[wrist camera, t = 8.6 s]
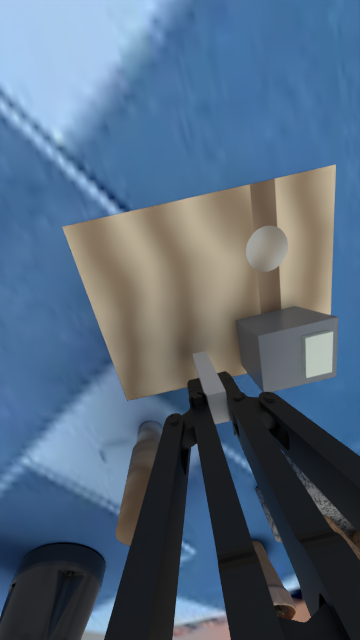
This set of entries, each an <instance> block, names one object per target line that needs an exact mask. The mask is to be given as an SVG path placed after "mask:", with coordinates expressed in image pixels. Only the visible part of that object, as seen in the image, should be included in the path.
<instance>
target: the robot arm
mask: <svg viewBox="0 0 360 640" xmlns="http://www.w3.org/2000/svg"><path fill="white" fill-rule="evenodd" d="M193 359H194V364H195V368H196V373H197V377H198V378H196V379H191V380H189V381H188V383H187V386H188V391H189V402H190V406H191V407H190V409H189V411H188V412H187V413H185V414H183V415H180V414H178V413H175V414H171V415H170V416H168V417H167V419H166V421H165V424H164V428H163V431H162V435H161V438H160V442H159V445H158V449H157V453H156V456H155V460H154V463H153V467H152V470H151V474H150V478H149V481H148V485H147V488H146V492H145V495H144V499H143V503H142V506H141V510H140V513H139V517H138V521H137V524H136V528H135V531H134V535H133V538H132V542H131V546H130V549H129V553H128V556H127V560H126V563H125V567H124V571H123V574H122V578H121V581H120V585H119V588H118V592H117V596H116V599H115V603H114V606H113V610H112V613H111V617H110V621H109V624H108V628H107V631H106V635H105V639H104V640H172V637H173V627H174V617H175V606H176V596H177V586H178V576H179V565H180V555H181V545H182V535H183V525H184V514H185V504H186V494H187V484H188V473H189V463H190V453H191V447H192V446H194V445H195V444H197V445H198V450H199V456H200V461H201V467H202V473H203V478H204V484H205V490H206V495H207V501H208V507H209V512H210V518H211V524H212V529H213V535H214V540H215V546H216V552H217V558H218V567H219V574H220V580H221V585H222V591H223V597H224V603H225V608H226V614H227V620H228V626H229V631H230V637H231V640H360V560H359V558H358V557H357V555H356V554H355V552H354V551H353V549H352V548H351V547H350V545H349V544H348V543H347V541H346V540H345V539H344V538H343V537H342V536H341V535H340V534H339V533H337V532H335V531H334V530H333V529H332V528H331V527H330V525H329V524H328V522H327V521H326V519H325V518H324V516H323V514H322V513H321V511H320V510H319V508H318V507H317V505H316V504H315V502H314V500H313V499H312V497H311V496H310V494H309V493H308V491H307V490H306V488H305V486H304V485H303V483H302V482H301V480H300V479H299V477H298V476H297V474H296V472H295V471H294V469H293V468H292V466H291V465H290V463H289V462H288V460H287V458H286V457H285V455H284V454H283V452H284V453H285V454H286V455H287V456H288V457H289V458H290V459H291V461H292V462H293V463H294V464H295V465H296V466H297V467H298V468H299V469H300V470H301V471H302V472H303V473H304V474H305V476H306V477H307V478H308V479H309V480H310V481H311V482H312V483H313V484H314V485H315V486H316V487H317V488H318V489H319V491H320V492H321V493H322V494H323V495H324V496H325V497H326V498H327V499H328V500H329V501H330V502H331V503H332V504H333V506H334V507H335V508H336V509H337V510H338V511H339V512H340V513H341V514H342V515H343V516H344V517H345V518H346V519H347V521H348V522H349V523H350V524H351V525H352V526H353V527H354V528H355V529H356V530H357V531H358V532H359V533H360V456H359V455H357V454H356V453H355V452H353V451H352V450H351V449H349V448H348V447H346V446H345V445H344V444H342V443H341V442H340V441H338V440H337V439H336V438H334V437H333V436H332V435H330V434H329V433H328V432H326V431H325V430H323V429H322V428H321V427H319V426H318V425H317V424H315V423H314V422H313V421H311V420H310V419H309V418H307V417H306V416H305V415H303V414H302V413H300V412H299V411H298V410H296V409H295V408H294V407H292V406H291V405H290V404H288V403H287V402H286V401H284V400H283V399H282V398H280V397H279V396H278V395H276V394H274V393H272V392H262V393H261V394H259V398H257V397H248V396H246V395H245V394H244V393H242V392H241V391H240V390H239V388H238V386H237V385H236V383H235V382H234V380H233V378H232V377H231V375H230V374H229V373H228V372H226V371H224V372H220V373H217V372H216V370H215V368H214V366H213V364H212V362H211V360H210V358H209V356H208V354H207V352H206V351H203V352H199V353H194V354H193ZM230 417H231V419H230ZM231 420H232V423H233V429H234V435H237V437H238V439H239V442H240V444H241V446H242V449H243V451H244V453H245V456H246V458H247V461H248V463H249V465H250V468H251V470H252V472H253V475H254V477H255V479H256V482H257V484H258V486H259V489H260V491H261V493H262V496H263V498H264V500H265V503H266V505H267V508H268V510H269V512H270V515H271V517H272V519H273V522H274V524H275V526H276V529H277V531H278V533H279V536H280V538H281V540H282V543H283V545H284V547H285V550H286V552H287V554H288V557H289V559H290V562H291V564H292V566H293V569H294V571H295V573H296V576H297V579H298V581H299V584H300V588H301V591H302V594H303V597H304V600H305V603H306V605H307V608H308V611H309V613H310V616H311V618H310V619H309V620H308V621H307V622H304V623H303V622H298V621H295V620H291V619H287V618H283V617H279V616H277V613H276V610H275V607H274V604H273V600H272V597H271V594H270V591H269V588H268V585H267V582H266V579H265V576H264V573H263V570H262V567H261V564H260V561H259V558H258V555H257V553H256V551H255V549H254V546H253V543H252V540H251V537H250V534H249V530H248V527H247V524H246V521H245V518H244V515H243V512H242V508H241V505H240V502H239V499H238V496H237V493H236V489H235V486H234V483H233V480H232V477H231V474H230V471H229V467H228V464H227V461H226V458H225V455H224V452H223V448H222V445H221V442H220V439H219V436H218V433H217V430H216V426H215V424H219V423H223V422H228V421H231ZM281 450H282V451H283V452H282V451H281ZM104 572H105V563H104V560H103V559H102V558H101V556H100V555H98V554H97V553H96V552H94V551H92V550H90V549H88V548H85V547H82V546H78V545H72V544H55V545H48V546H44V547H41V548H38V549H36V550H34V551H32V552H30V553H29V554H27V555H26V556H25V557H24V559H23V560H22V562H21V564H20V566H19V568H18V570H17V572H16V574H15V576H14V578H13V580H12V582H11V585H10V588H9V593H8V596H7V598H6V601H5V604H4V607H3V610H2V613H1V617H0V640H81V638H82V635H83V633H84V630H85V628H86V625H87V623H88V620H89V618H90V615H91V613H92V610H93V608H94V605H95V602H96V600H97V597H98V595H99V592H100V589H101V586H102V581H103V577H104Z"/></svg>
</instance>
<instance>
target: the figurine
mask: <svg viewBox="0 0 360 640" xmlns="http://www.w3.org/2000/svg"><path fill="white" fill-rule="evenodd" d="M285 457H286V458H287V460H288V462H289V463H290V465H291V466H292V468H293V469H294V471H295V472H296V474H297V476H298V477H299V479H300V480H301V482H302V483H303V485H304V486H305V488H306V490H307V491H308V493H309V494H310V496H311V497H312V499H313V500H314V502H315V504H316V505H317V507H318V508H319V510H320V511H321V513H322V514H323V516H324V518H325V519H326V521H327V522H328V524H329V525H330V527H331V528H332V529H333V530H334V531H335V532H337V533H339V534H340V535H341V536H342V537H343V538H344V539H345V540H346V541H347V543H348V544H349V545H350V547H351V548H352V549H353V551H354V552H355V554H356V555H357V557H358V558H359V560H360V533H359V532H358V531H357V530H356V529H355V528H354V527H353V526H352V525H351V524H350V523H349V522H348V521H347V519H346V518H345V517H344V516H343V515H342V514H341V513H340V512H339V511H338V510H337V509H336V508H335V507H334V506H333V504H332V503H331V502H330V501H329V500H328V499H327V498H326V497H325V496H324V495H323V494H322V493H321V492H320V491H319V489H318V488H317V487H316V486H315V485H314V484H313V483H312V482H311V481H310V480H309V479H308V478H307V477H306V476H305V474H304V473H303V472H302V471H301V470H300V469H299V468H298V467H297V466H296V465H295V464H294V463H293V462H292V461H291V459H290V458H289V457H288V456H287V455H285ZM255 491H256V493H257V495H258V498H259V500H260V503H261V505H262V508H263V510H264V513H265V515H266V517H267V520H268V522H269V525H270V527H271V530H272V532H273V534H274V537H275V539H276V541H278V542H282V540H281V538H280V536H279V533H278V531H277V529H276V526H275V524H274V522H273V519H272V517H271V515H270V512H269V510H268V508H267V505H266V503H265V500H264V498H263V496H262V493H261V491H260V489H259V486H258V487H257V488H256V490H255Z"/></svg>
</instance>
